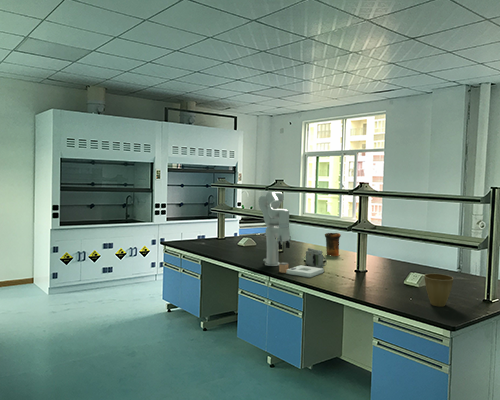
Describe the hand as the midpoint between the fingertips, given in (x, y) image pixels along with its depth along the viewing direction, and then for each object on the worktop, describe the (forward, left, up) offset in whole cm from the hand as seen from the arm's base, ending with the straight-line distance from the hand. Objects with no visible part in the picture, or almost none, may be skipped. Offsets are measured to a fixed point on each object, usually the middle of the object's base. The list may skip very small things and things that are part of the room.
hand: (284, 248), depth 318 cm
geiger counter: (+10, +32, -18) cm, 38 cm away
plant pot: (+114, -15, -18) cm, 116 cm away
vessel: (-3, +84, -18) cm, 86 cm away
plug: (0, 0, -18) cm, 18 cm away
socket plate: (+15, +6, -18) cm, 24 cm away
